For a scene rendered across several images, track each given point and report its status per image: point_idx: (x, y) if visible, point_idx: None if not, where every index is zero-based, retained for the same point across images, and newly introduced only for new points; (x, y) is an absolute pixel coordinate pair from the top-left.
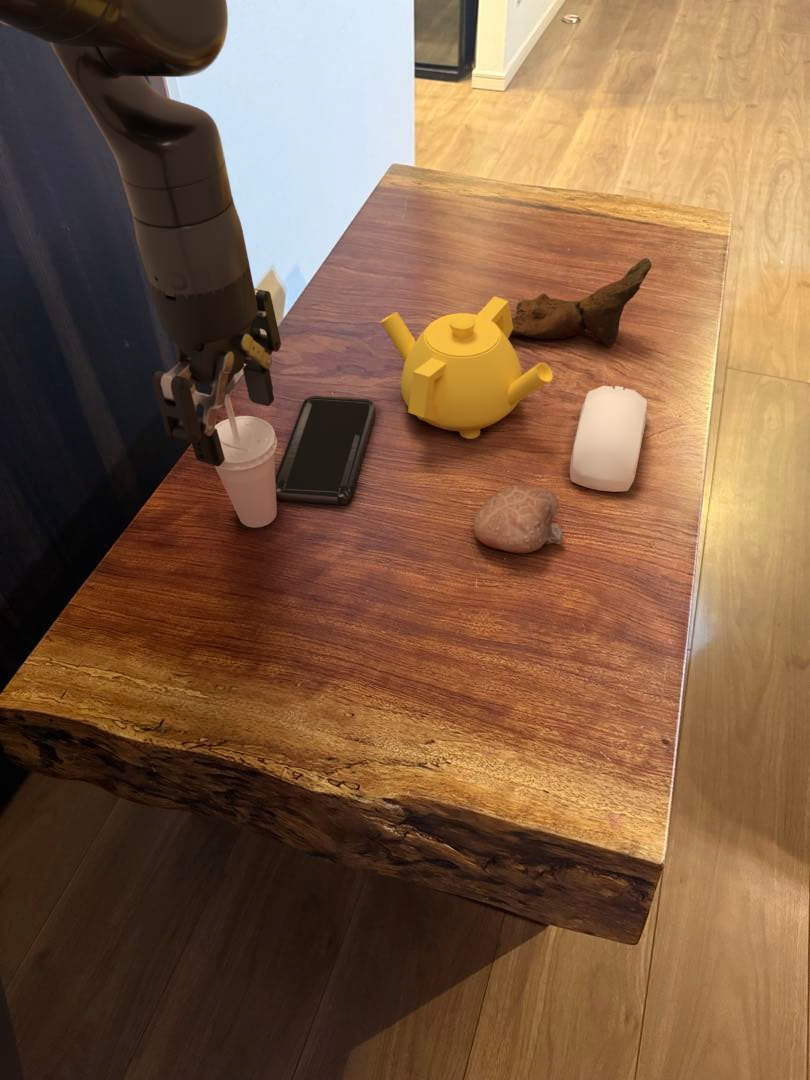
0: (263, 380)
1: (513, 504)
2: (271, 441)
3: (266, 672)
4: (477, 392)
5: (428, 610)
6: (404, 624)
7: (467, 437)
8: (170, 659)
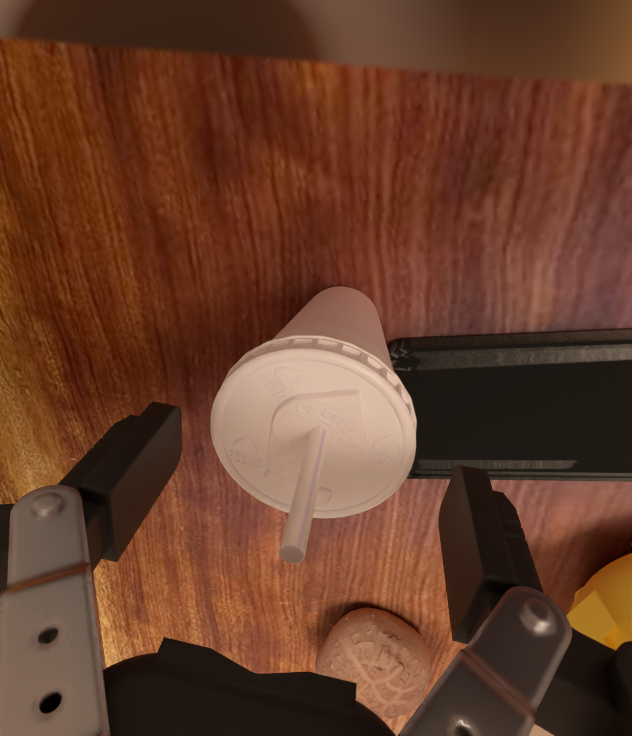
0: (450, 602)
1: (372, 689)
2: (315, 517)
3: (67, 421)
4: None
5: (229, 565)
6: (201, 545)
7: (576, 594)
8: (13, 290)
